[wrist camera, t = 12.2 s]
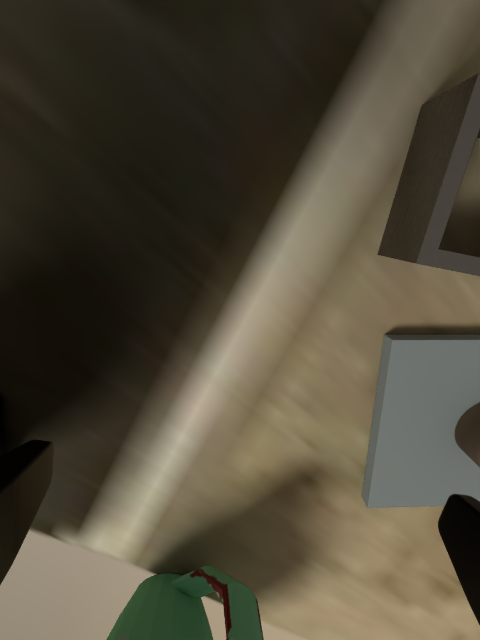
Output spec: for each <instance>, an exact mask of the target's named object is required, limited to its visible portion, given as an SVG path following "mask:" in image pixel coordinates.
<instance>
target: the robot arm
mask: <svg viewBox="0 0 480 640" xmlns="http://www.w3.org/2000/svg"><path fill="white" fill-rule="evenodd" d="M2 419H3V400H2V397H1V395H0V584H1V583H2V581H3V579H4V578H5V576H6V574H7V572H8V571H9V569H10V567H11V565H12V564H13V561H14V559H15V558H16V556H17V554H18V552H19V549H20V547H21V545H22V543H23V541H24V539H25V537H26V535H27V533H28V531H29V529H30V526H31V524H32V522H33V520H34V518H35V516H36V514H37V512H38V510H39V508H40V505H41V503H42V501H43V499H44V497H45V495H46V493H47V491H48V489H49V486H50V484H51V481H52V476H53V462H54V445H53V443H52V442H49V441H42V440H31V441H28V442H26V443H24V444H22V445H20V446H18V447H16V448H14V449H12V450H10V451H8V452H6V453H4V449H5V431H4V429H3V427H2ZM438 529H439V533H440V535H441V538H442V540H443V542H444V545H445V547H446V550H447V552H448V554H449V557H450V559H451V562H452V564H453V566H454V569H455V571H456V574H457V576H458V578H459V581H460V583H461V586H462V588H463V590H464V593H465V595H466V597H467V600H468V602H469V604H470V606H471V609H472V611H473V613H474V615H475V617H476V619H477V621H478V623H479V625H480V501H478V500H477V499H475V498H473V497H472V496H469V495H462V494H452V495H450V496H449V497H448V499H447V502H446V504H445V506H444V509H443V511H442V513H441V515H440V518H439V521H438Z"/></svg>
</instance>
